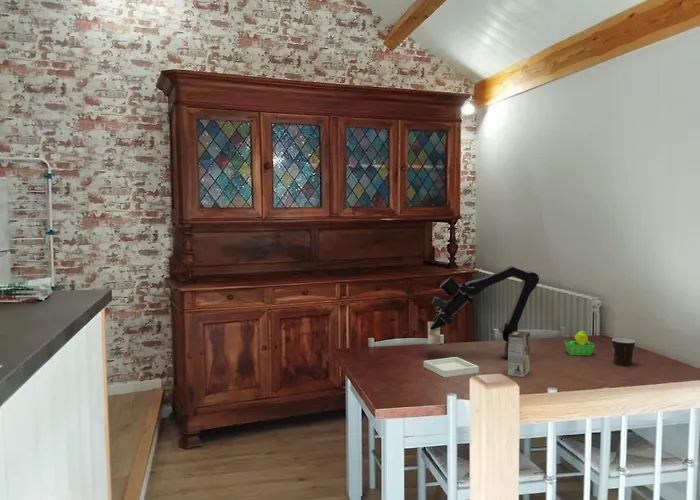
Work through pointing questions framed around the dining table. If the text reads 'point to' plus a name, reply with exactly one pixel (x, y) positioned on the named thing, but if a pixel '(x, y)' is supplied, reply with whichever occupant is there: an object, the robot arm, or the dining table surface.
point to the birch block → (433, 334)
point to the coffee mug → (623, 351)
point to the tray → (451, 367)
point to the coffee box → (518, 353)
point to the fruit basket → (580, 345)
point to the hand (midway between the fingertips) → (430, 328)
